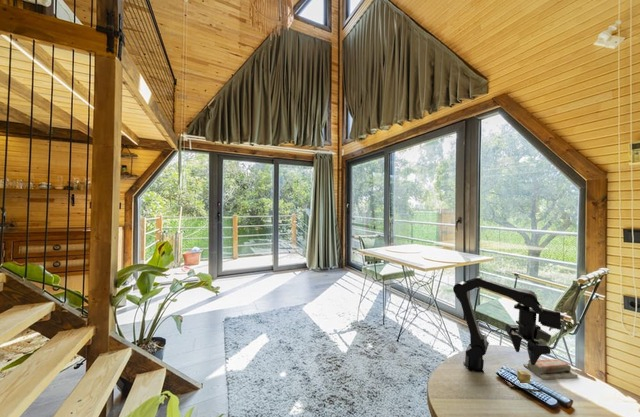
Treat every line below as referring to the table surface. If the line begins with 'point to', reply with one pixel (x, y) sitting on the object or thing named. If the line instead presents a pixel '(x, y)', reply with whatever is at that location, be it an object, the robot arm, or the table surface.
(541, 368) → the packaged product
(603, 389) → the table surface
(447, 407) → the table surface
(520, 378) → the stub
